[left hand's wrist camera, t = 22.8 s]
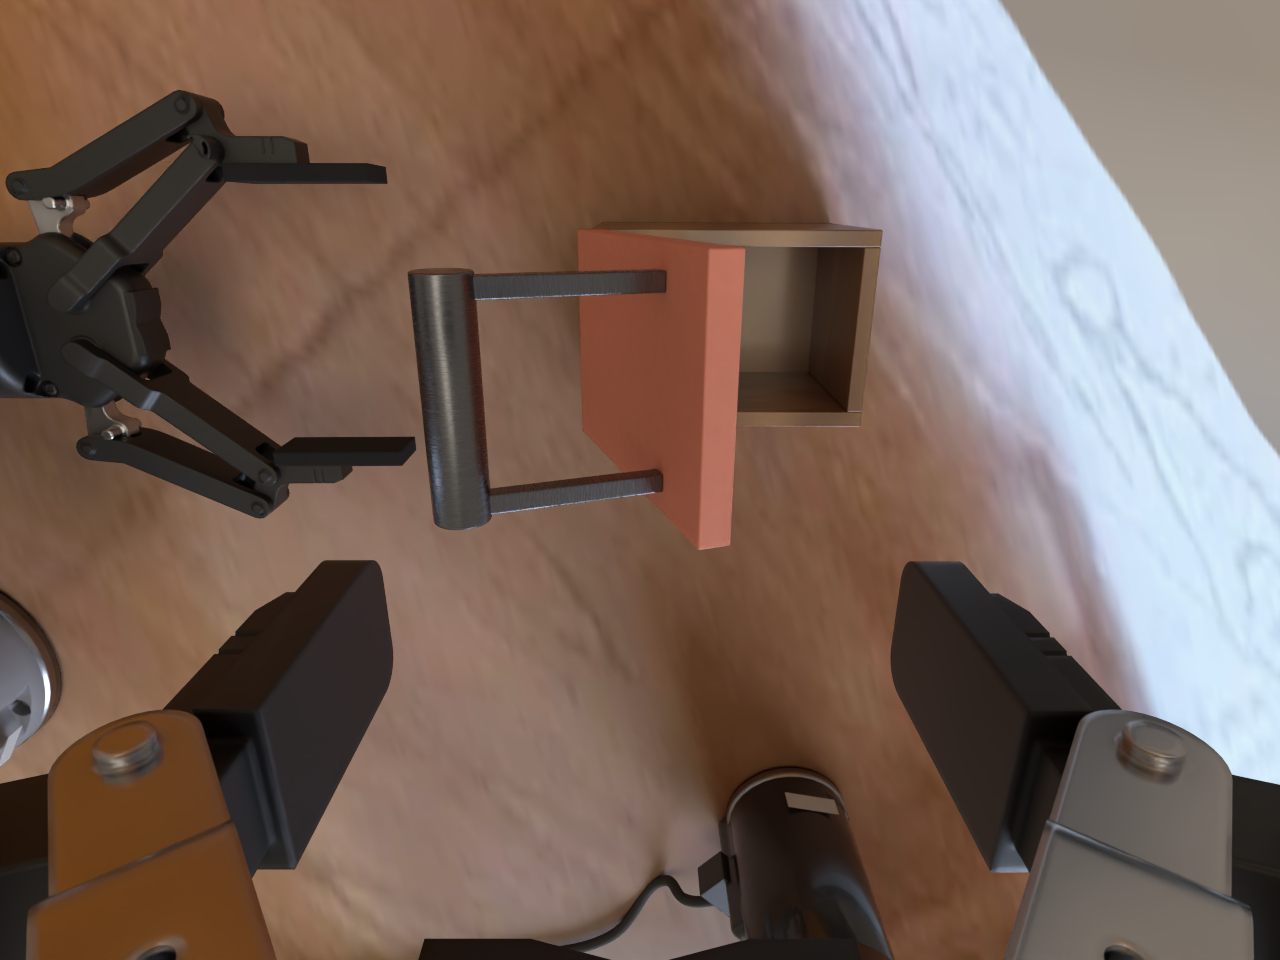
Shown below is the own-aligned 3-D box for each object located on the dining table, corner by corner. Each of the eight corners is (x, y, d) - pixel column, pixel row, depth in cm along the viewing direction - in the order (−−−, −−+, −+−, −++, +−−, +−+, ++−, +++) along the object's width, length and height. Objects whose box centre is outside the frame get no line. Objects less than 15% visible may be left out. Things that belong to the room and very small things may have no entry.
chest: (831, 223, 43) (883, 229, 34) (816, 381, 46) (860, 427, 37) (601, 222, 43) (590, 228, 34) (603, 381, 46) (594, 426, 37)
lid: (746, 247, 21) (412, 253, 18) (730, 545, 24) (446, 591, 21) (602, 229, 33) (390, 230, 30) (604, 428, 37) (414, 447, 34)
